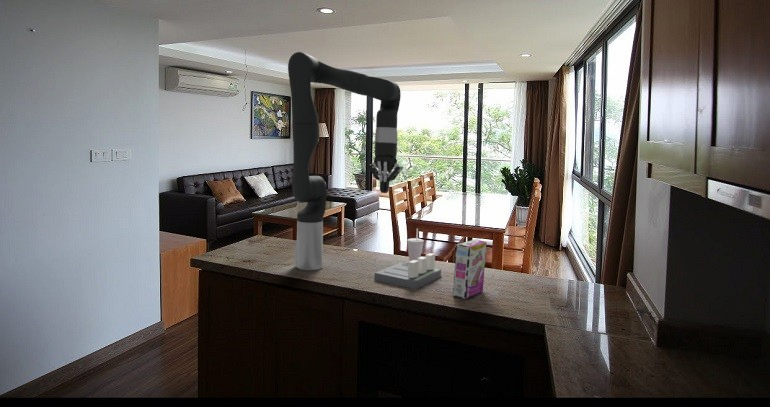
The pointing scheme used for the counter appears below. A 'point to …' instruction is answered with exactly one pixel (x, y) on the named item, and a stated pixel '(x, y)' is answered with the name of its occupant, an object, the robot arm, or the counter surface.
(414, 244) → the smoothie
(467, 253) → the candy bar box
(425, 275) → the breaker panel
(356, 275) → the counter surface
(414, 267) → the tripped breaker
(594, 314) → the counter surface
